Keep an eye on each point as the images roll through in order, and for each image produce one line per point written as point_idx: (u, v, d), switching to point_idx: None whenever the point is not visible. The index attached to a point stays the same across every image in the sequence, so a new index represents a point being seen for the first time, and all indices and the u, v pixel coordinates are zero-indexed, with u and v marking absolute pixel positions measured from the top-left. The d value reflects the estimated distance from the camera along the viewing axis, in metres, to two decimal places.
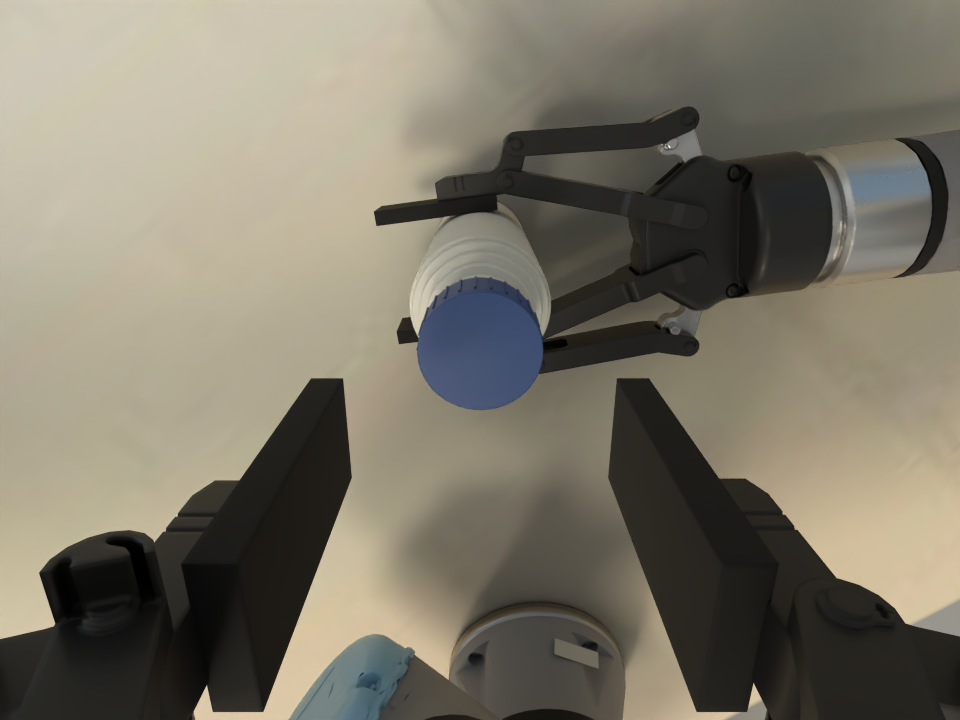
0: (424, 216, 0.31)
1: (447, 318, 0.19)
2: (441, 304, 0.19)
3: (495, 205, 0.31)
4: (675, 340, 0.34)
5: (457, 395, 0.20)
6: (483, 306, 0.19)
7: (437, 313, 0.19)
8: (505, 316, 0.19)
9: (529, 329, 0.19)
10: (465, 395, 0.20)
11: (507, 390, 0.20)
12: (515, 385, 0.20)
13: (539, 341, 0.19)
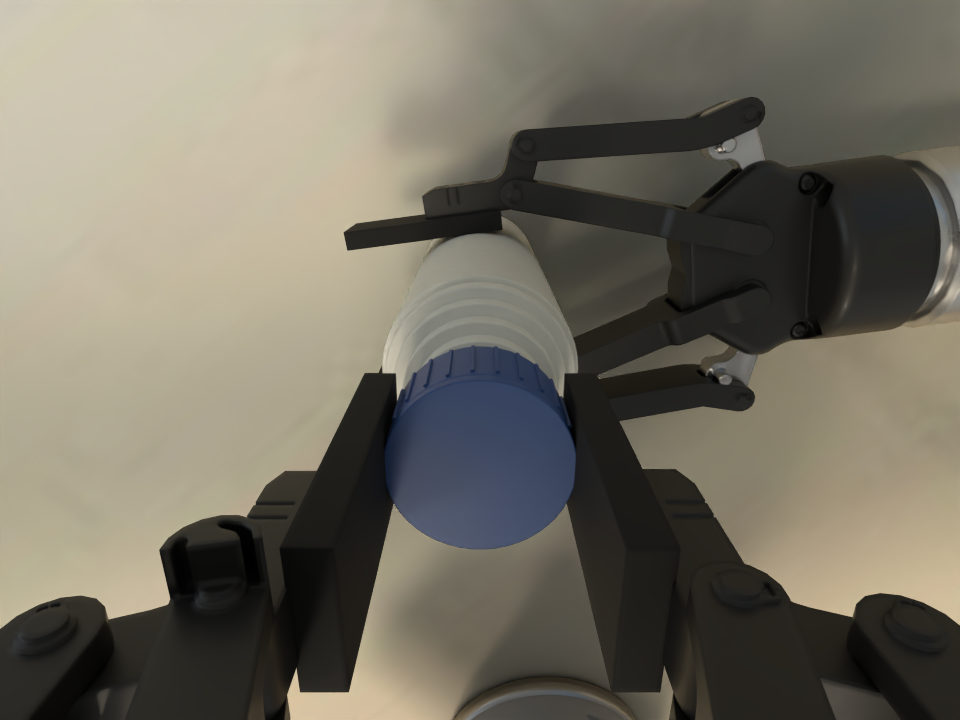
0: (408, 238, 0.24)
1: (429, 419, 0.12)
2: (419, 398, 0.12)
3: (499, 224, 0.24)
4: (725, 391, 0.27)
5: (445, 529, 0.13)
6: (485, 401, 0.12)
7: (413, 412, 0.12)
8: (519, 416, 0.12)
9: (556, 435, 0.12)
10: (457, 529, 0.13)
11: (521, 522, 0.13)
12: (533, 515, 0.13)
13: (571, 453, 0.13)
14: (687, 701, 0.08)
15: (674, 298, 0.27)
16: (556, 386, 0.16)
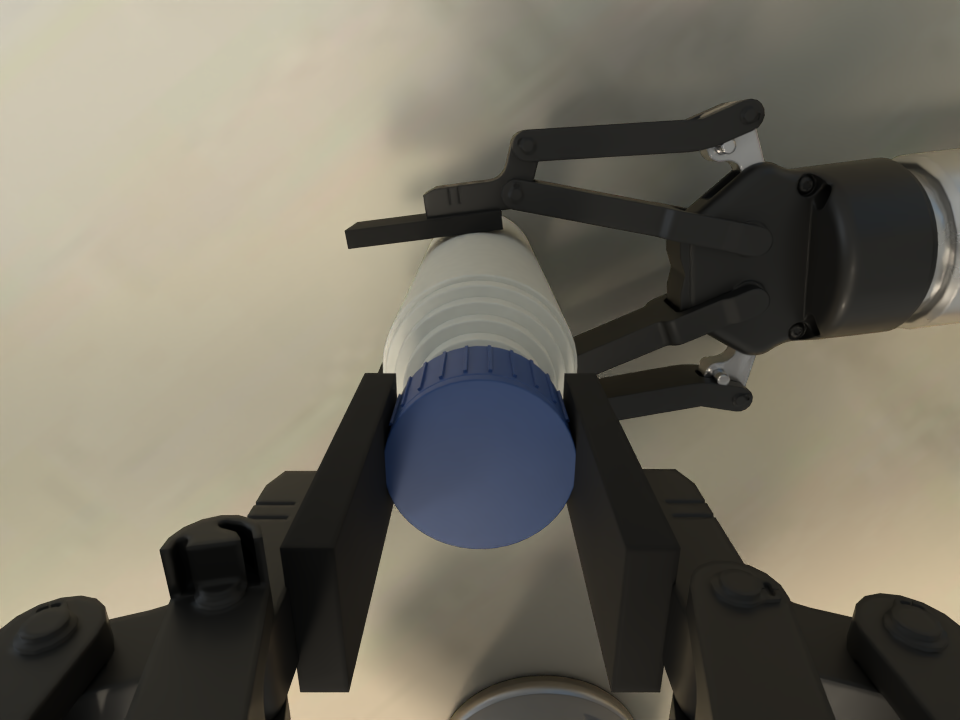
0: (409, 237, 0.25)
1: (440, 521, 0.13)
2: (423, 531, 0.13)
3: (500, 224, 0.24)
4: (723, 392, 0.27)
5: (557, 483, 0.13)
6: (407, 482, 0.13)
7: (437, 535, 0.13)
8: (412, 450, 0.13)
9: (421, 412, 0.12)
10: (555, 472, 0.13)
11: (531, 417, 0.12)
12: (519, 407, 0.12)
13: (436, 393, 0.12)
14: (687, 701, 0.08)
15: (673, 298, 0.27)
16: (555, 384, 0.16)
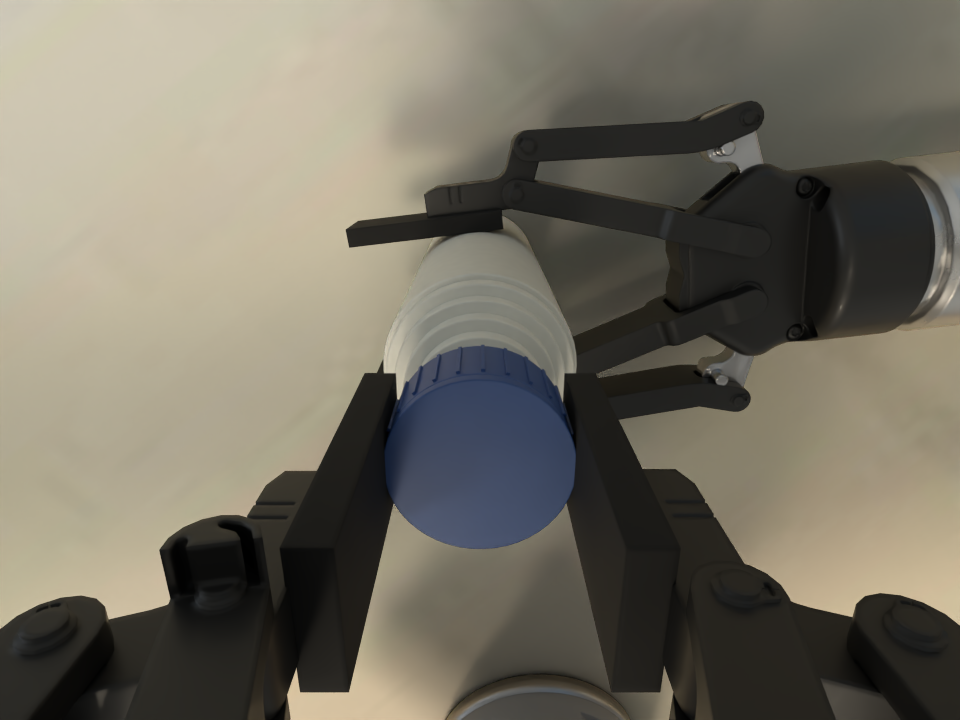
0: (410, 236, 0.25)
1: (549, 489, 0.13)
2: (566, 500, 0.13)
3: (500, 223, 0.24)
4: (721, 392, 0.27)
5: (475, 395, 0.12)
6: (511, 525, 0.13)
7: (566, 489, 0.13)
8: (476, 527, 0.13)
9: (436, 528, 0.13)
10: (464, 402, 0.12)
11: (410, 439, 0.12)
12: (404, 452, 0.13)
13: (413, 521, 0.13)
14: (687, 701, 0.08)
15: (672, 299, 0.27)
16: (555, 383, 0.16)
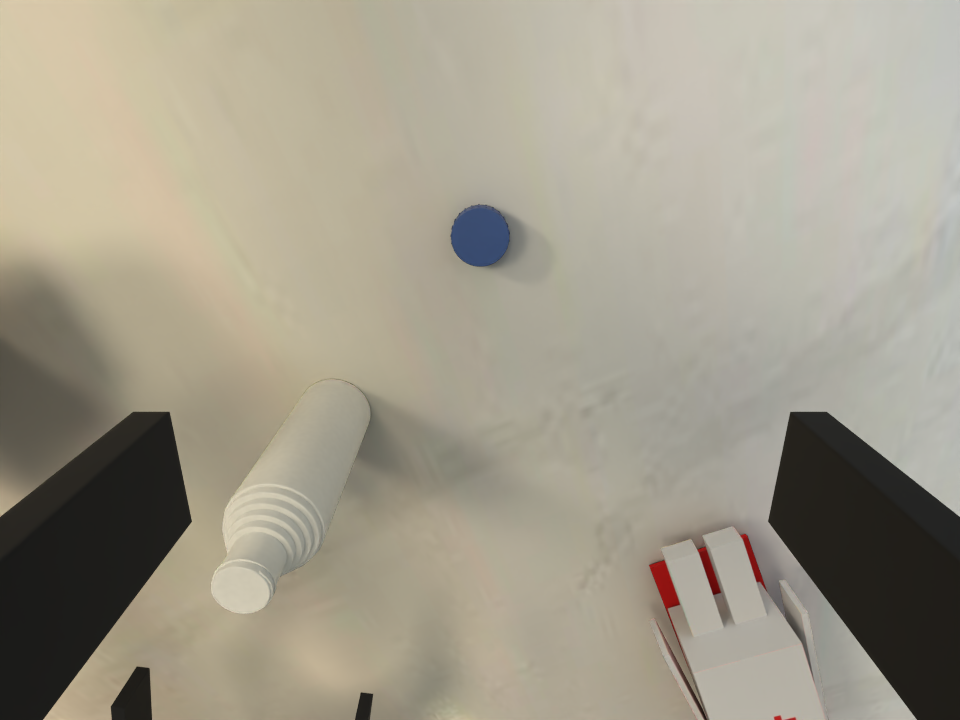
0: None
1: (481, 215, 0.42)
2: (484, 208, 0.42)
3: None
4: None
5: (457, 245, 0.43)
6: (497, 222, 0.42)
7: (480, 210, 0.42)
8: (500, 233, 0.42)
9: (503, 245, 0.43)
10: (460, 247, 0.43)
11: (475, 259, 0.43)
12: (480, 260, 0.43)
13: (503, 252, 0.43)
14: None
15: None
16: None
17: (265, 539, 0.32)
